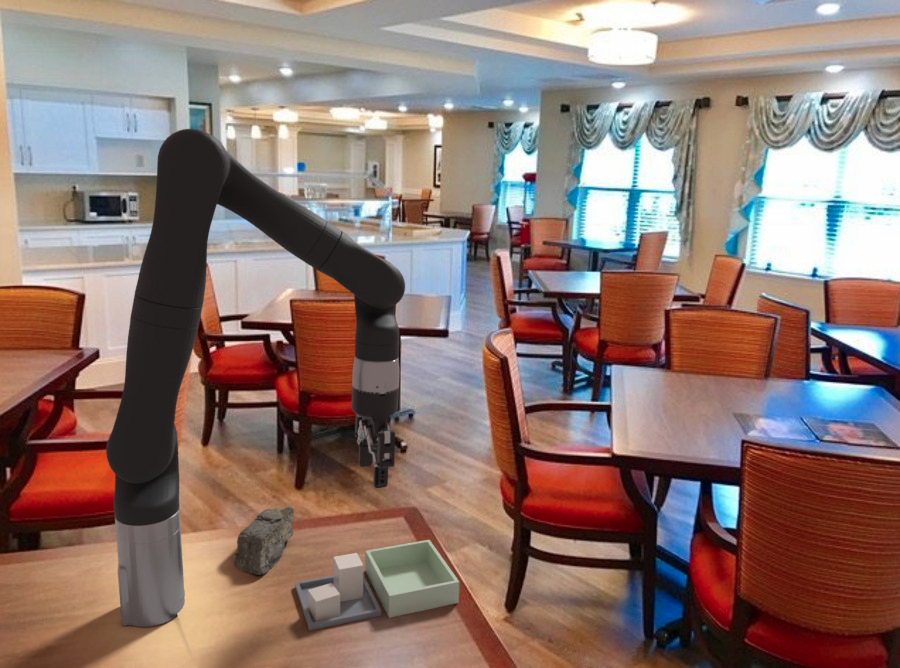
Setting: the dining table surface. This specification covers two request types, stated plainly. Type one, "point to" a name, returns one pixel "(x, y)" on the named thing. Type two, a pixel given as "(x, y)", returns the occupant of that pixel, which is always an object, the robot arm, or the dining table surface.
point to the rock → (264, 540)
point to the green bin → (411, 578)
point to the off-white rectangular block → (348, 576)
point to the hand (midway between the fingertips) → (372, 475)
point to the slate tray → (348, 609)
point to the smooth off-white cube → (324, 602)
